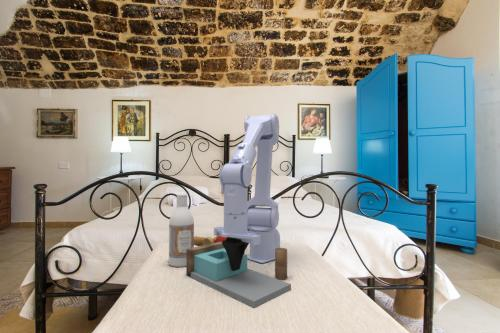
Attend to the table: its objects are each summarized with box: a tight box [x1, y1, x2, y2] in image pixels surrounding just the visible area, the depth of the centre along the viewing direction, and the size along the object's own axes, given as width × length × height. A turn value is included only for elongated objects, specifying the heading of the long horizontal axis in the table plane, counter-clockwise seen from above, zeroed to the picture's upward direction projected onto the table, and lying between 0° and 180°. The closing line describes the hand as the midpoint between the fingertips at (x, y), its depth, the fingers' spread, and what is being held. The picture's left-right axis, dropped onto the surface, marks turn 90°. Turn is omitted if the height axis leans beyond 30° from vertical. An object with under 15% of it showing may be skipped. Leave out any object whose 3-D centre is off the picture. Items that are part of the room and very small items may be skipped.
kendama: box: [194, 235, 227, 246], centre depth 96 cm, size 8×6×18 cm
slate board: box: [185, 268, 292, 308], centre depth 66 cm, size 12×24×1 cm, turn 45°
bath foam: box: [168, 193, 195, 268], centre depth 80 cm, size 7×7×20 cm
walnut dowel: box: [274, 247, 288, 281], centre depth 69 cm, size 3×3×7 cm
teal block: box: [194, 248, 248, 281], centre depth 70 cm, size 10×9×4 cm
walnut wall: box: [185, 241, 224, 278], centre depth 74 cm, size 12×2×7 cm, turn 135°
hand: (235, 269), depth 66 cm, fingers closed
